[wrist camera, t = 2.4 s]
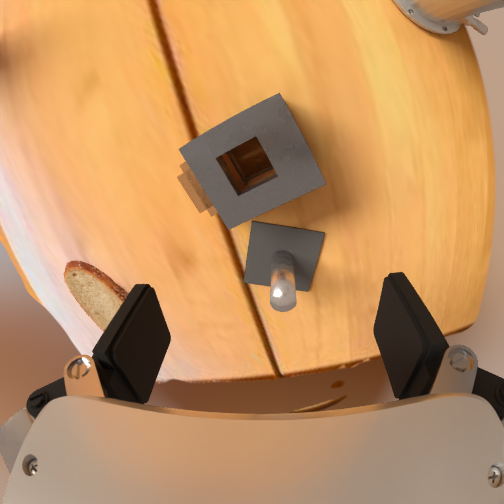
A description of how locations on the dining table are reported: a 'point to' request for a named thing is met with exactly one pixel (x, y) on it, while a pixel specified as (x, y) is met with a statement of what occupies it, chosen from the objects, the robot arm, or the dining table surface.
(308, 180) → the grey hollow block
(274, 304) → the pin
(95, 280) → the slice of bread
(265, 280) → the mat
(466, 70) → the dining table surface
